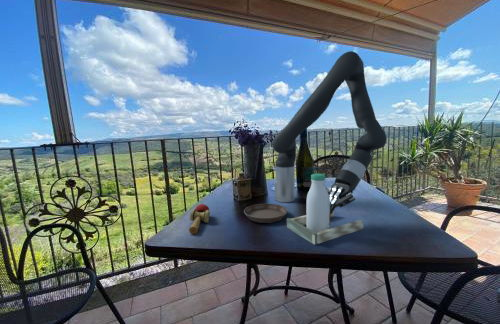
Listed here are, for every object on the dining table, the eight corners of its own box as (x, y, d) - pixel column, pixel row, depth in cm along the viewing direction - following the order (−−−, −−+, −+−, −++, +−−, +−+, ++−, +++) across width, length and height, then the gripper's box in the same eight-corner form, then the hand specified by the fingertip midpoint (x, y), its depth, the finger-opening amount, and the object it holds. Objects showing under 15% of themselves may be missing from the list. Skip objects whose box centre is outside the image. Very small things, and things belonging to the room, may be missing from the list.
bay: (331, 215, 92) (331, 207, 91) (363, 228, 79) (363, 219, 79) (286, 227, 82) (286, 218, 82) (314, 244, 69) (314, 234, 69)
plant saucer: (255, 207, 106) (254, 201, 105) (292, 212, 98) (292, 205, 97) (236, 221, 90) (236, 214, 90) (279, 228, 82) (278, 220, 82)
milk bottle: (328, 238, 73) (328, 177, 70) (304, 234, 77) (303, 176, 74) (331, 228, 80) (331, 172, 77) (308, 225, 83) (308, 171, 81)
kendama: (207, 237, 80) (214, 212, 98) (202, 221, 79) (210, 199, 96) (186, 241, 81) (196, 215, 98) (180, 226, 79) (192, 202, 96)
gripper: (331, 166, 88) (307, 203, 84) (361, 171, 76) (335, 213, 72) (341, 178, 91) (318, 213, 87) (371, 184, 79) (347, 225, 76)
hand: (326, 213), depth 80 cm, fingers closed
